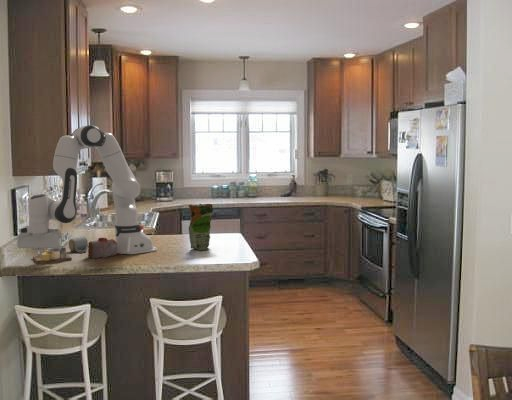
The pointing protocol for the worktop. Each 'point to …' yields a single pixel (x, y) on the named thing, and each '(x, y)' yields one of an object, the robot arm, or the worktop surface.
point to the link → (47, 255)
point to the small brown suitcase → (102, 248)
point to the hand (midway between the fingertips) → (39, 257)
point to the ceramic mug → (78, 244)
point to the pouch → (200, 226)
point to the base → (55, 256)
